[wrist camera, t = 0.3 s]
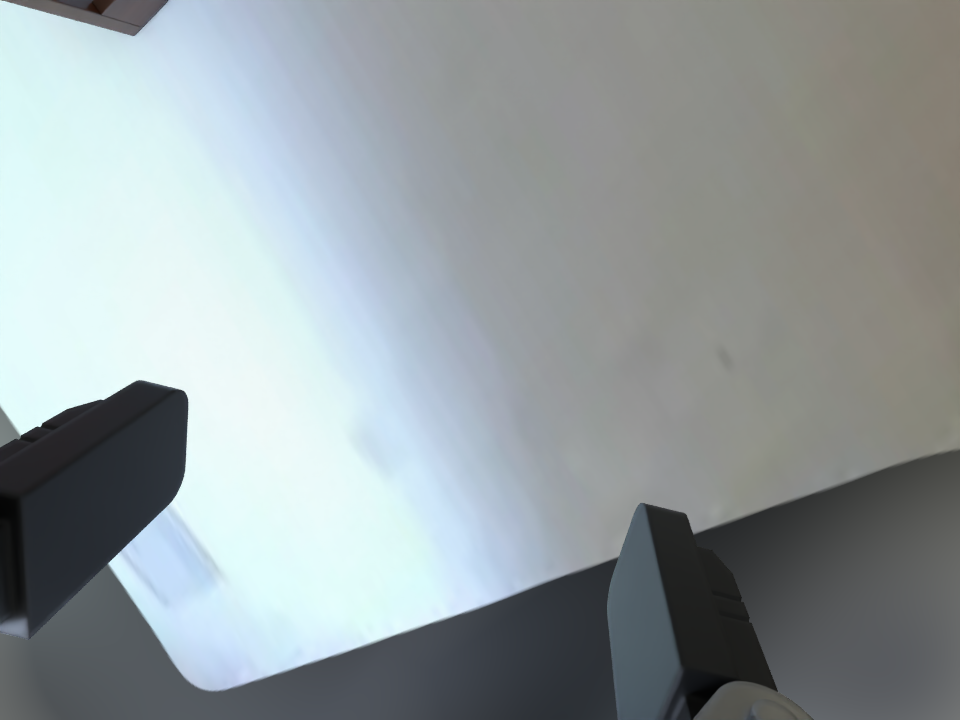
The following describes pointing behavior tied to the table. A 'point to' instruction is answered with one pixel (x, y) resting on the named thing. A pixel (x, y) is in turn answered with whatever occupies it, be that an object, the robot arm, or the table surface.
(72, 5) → the walnut crate
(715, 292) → the table surface
